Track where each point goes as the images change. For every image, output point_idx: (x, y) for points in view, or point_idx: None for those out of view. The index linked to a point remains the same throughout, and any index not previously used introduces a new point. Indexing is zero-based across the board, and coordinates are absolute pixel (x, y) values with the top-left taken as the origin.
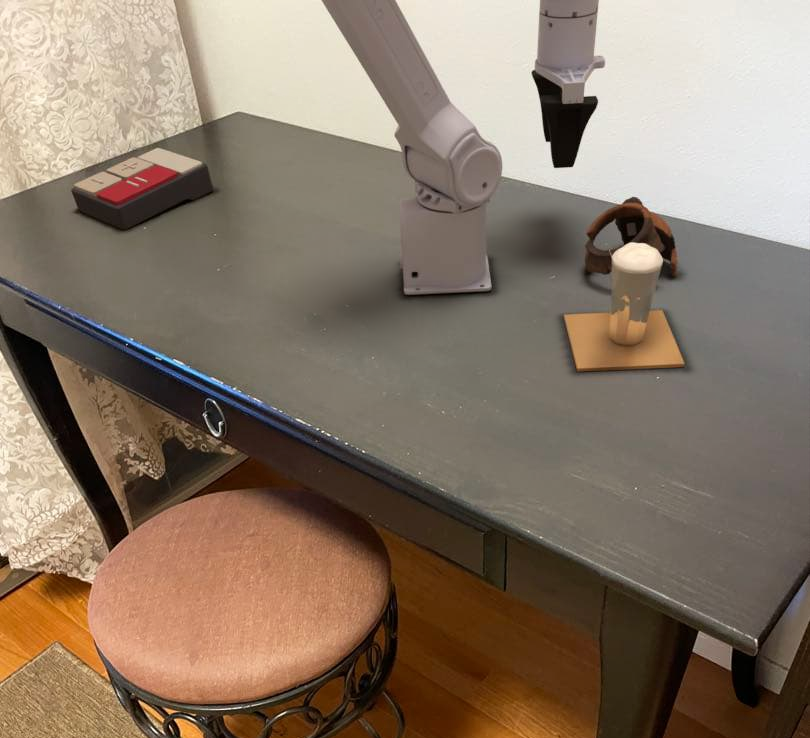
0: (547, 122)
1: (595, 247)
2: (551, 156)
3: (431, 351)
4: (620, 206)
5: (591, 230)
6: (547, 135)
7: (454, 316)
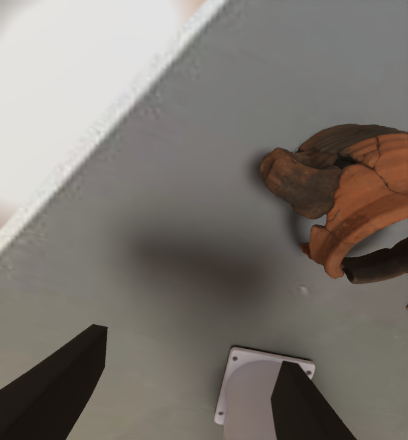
0: (69, 425)
1: (378, 277)
2: (276, 432)
3: (403, 431)
4: (365, 236)
5: (342, 275)
6: (95, 381)
7: (347, 401)
